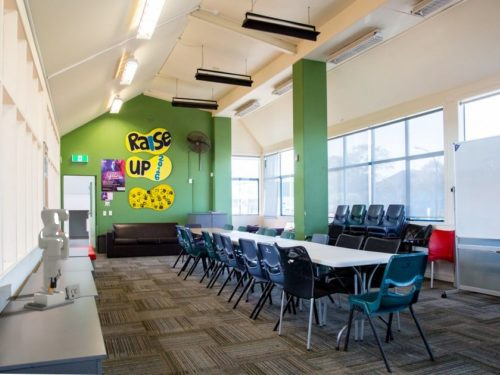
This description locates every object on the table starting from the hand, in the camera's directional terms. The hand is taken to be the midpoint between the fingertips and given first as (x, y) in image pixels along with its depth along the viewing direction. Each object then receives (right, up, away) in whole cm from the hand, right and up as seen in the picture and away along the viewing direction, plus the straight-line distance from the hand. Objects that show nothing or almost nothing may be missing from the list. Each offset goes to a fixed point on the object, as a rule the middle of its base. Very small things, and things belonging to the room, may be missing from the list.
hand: (53, 288), depth 251 cm
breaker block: (-3, -11, +1) cm, 12 cm away
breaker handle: (-3, -3, +1) cm, 4 cm away
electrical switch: (+4, -12, +19) cm, 23 cm away
